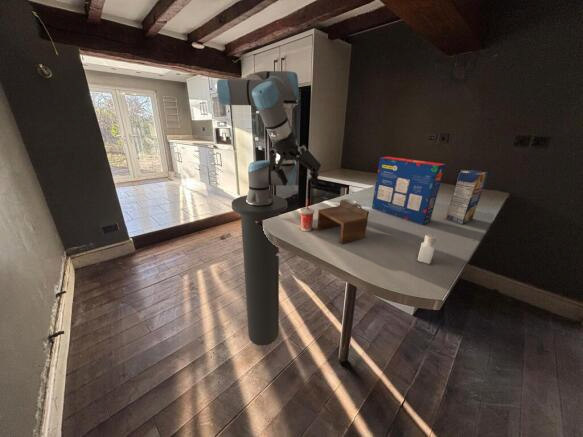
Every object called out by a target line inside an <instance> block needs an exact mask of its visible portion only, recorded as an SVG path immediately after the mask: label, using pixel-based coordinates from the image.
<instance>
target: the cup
mask: <svg viewBox="0 0 583 437" xmlns="http://www.w3.org/2000/svg"><path fill="white" fill-rule="evenodd" d="M340 201H344V202H347V203H349V204H352V205H354V206H357V207H359V208H361V209H363V207H362V205H361V204H359V203H358V202H357V201H356V200H354V199H351V198H350V199H349V198H344V199H341V200H340Z"/></svg>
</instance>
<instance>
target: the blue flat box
mask: <svg viewBox="0 0 583 437" xmlns="http://www.w3.org/2000/svg"><path fill="white" fill-rule="evenodd" d="M445 168H446V163H440V162H433V161H425V160H418V159H417V160H416V159H408V158H403V157H393V156H383V157H379V161H378V169H377V174H376V179H375V184H374V192H373V198H372V204H371V209H373V210H375V211H379V212H381V213H385V214H388V215H390V216H394V217H397V218H400V219H403V220H406V221H410V222H412V223H415V224H419V225H421V226H424V225H425V224H427V223H429V222H431V220H432V215H433V212H434V209H435V205H436V201H437V197H438V193H439V190H440V186H441V183H442V179H443V176H444V172H445Z"/></svg>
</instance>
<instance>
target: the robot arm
mask: <svg viewBox="0 0 583 437" xmlns="http://www.w3.org/2000/svg"><path fill="white" fill-rule="evenodd" d="M215 95H216V99H217V101H218V102H219V104H221V105H224V106H225V105H226V106H252V107H253V106H255V107H256V109H257V111H258V113H259V116H260V118H261V120H262V122H263V125H264V126H265V129H266V131H267V133H268V136H269V138H270V140H271V144H272V145H273V146H272V147H271V148H270V150H268V152H269V156H270V159H269V160H270V161H269V160H266V159H265V160H256V161H252V162H250V163H248V165H247V177H248V178H247V179H248V192H247V194H246V195H247V198H246V203H247V204H248V205H251V206H267V205H270V204H272V203H273V198H272V195H273V194H272V192H271V189H270V187H271V186H280V187H281V186H284V187H287V186H290V187H292V186H294V185H295V182H296V176H297V171H298V164H296V163H299V164H301V165H302V166H303V167H305V169H307V170H309V171H310V173H309V175H310V177H311V180H312V184H313V185H314V188H315V187H317V186H318V185H319V182H320V181H319V171H320V169H321V167H322V164H321V163H320V162H319V161H318V159H317V158H316V157H315V156H314V155H313V154H312V153H311V151H310V150H309V149H308V147H307V145H306V144H302V146H299V145H297V141H296V138H295V135H294V132H293V127H294V126H293V124H294V108H295V107H296V106H297V101H300V88H299V78H298V74H297V72H295V71H289V70H261V71H256V72H252V73H249V74H247V75H246V76H245V77H239V78H220V79H217V81H216V83H215Z"/></svg>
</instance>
